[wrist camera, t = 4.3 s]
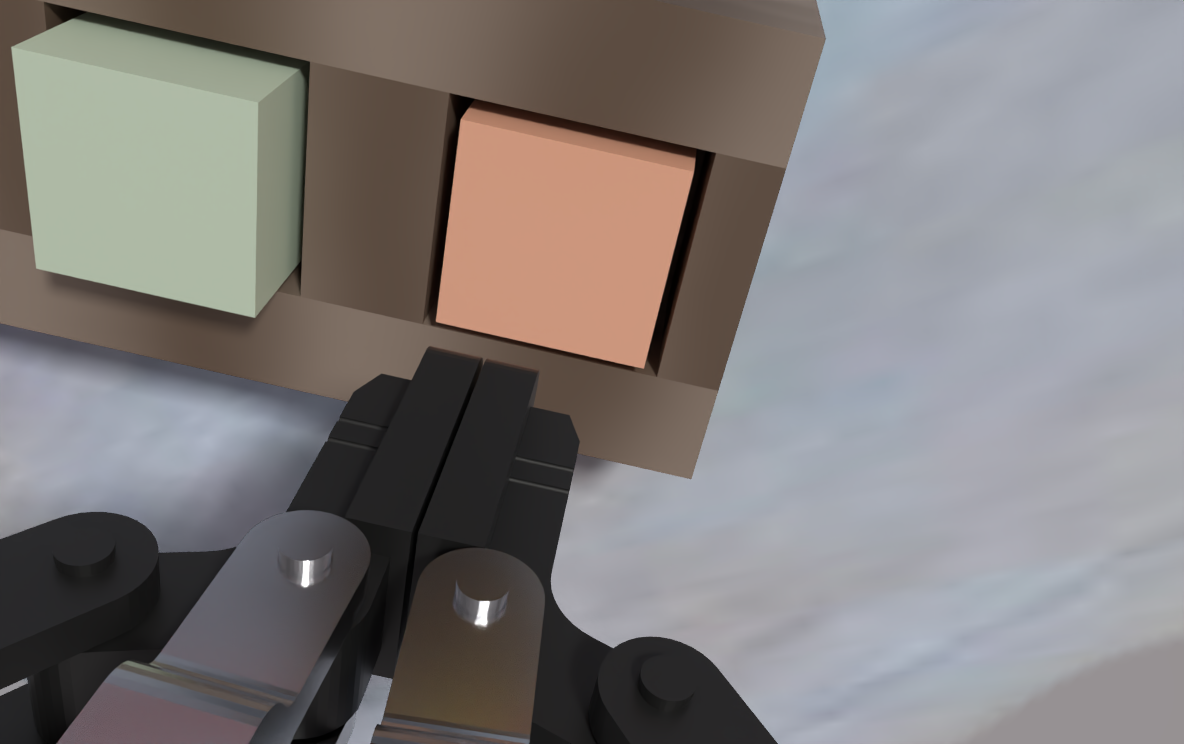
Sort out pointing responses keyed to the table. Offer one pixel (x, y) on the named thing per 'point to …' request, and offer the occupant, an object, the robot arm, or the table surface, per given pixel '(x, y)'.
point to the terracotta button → (561, 232)
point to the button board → (425, 179)
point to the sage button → (163, 160)
